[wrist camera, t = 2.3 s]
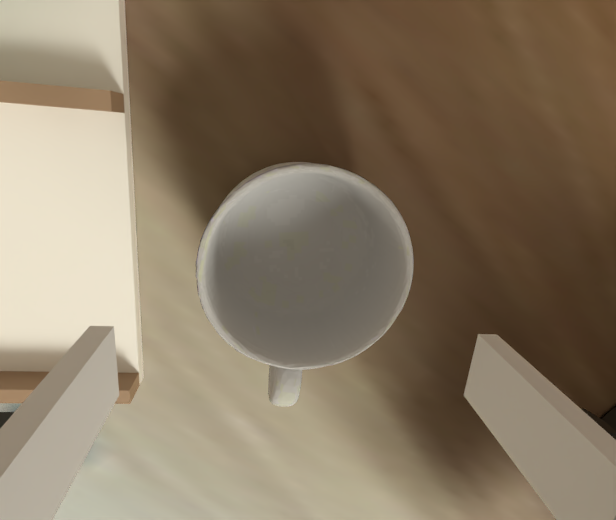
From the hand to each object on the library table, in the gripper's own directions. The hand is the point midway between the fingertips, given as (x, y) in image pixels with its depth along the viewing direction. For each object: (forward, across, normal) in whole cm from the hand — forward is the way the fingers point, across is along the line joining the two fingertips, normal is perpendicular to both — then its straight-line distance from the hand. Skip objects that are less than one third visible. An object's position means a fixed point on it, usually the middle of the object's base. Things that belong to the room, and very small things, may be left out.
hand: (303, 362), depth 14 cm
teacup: (+14, 0, 0) cm, 14 cm away
